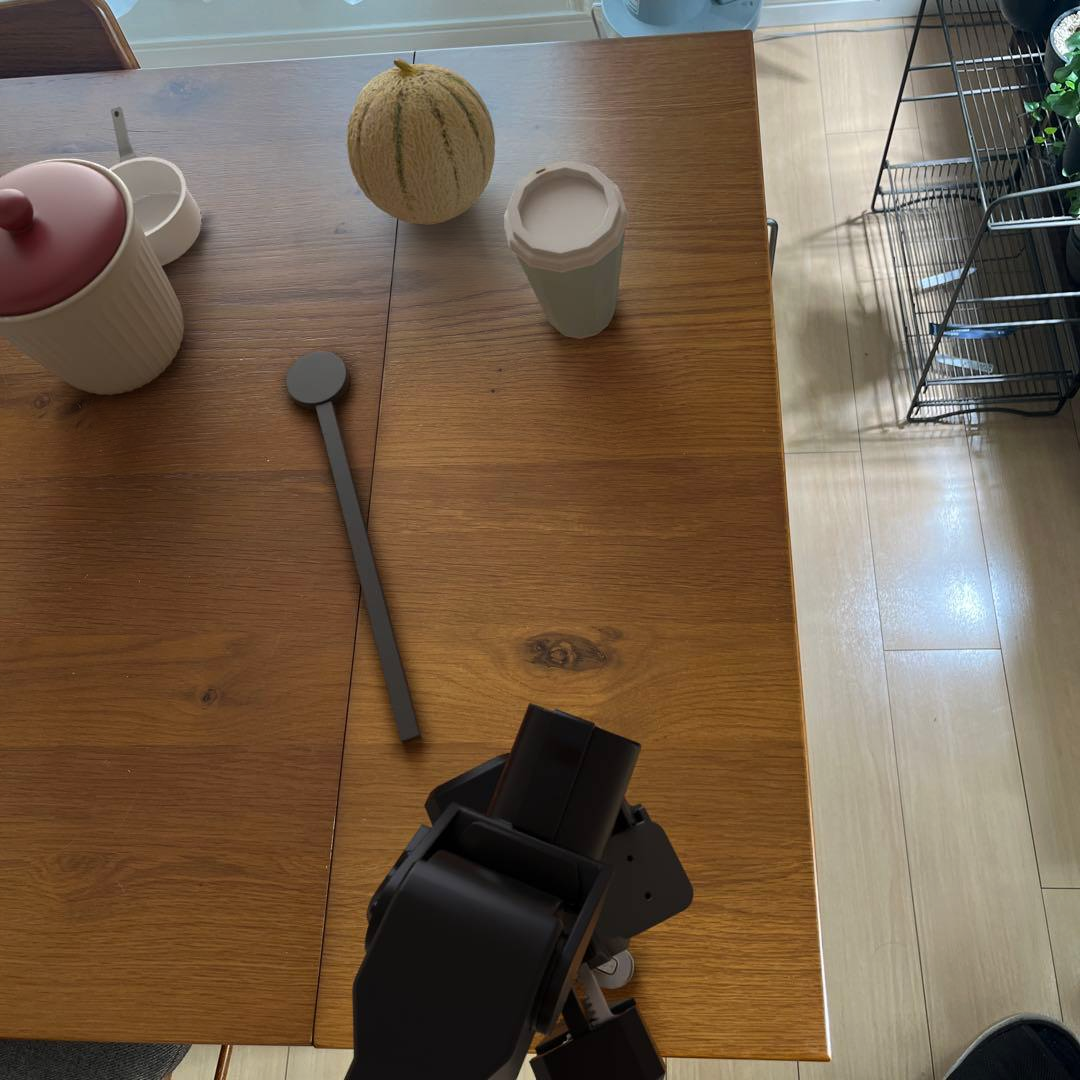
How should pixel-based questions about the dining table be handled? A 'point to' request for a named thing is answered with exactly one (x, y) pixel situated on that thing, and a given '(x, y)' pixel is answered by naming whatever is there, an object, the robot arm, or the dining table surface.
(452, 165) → the cantaloupe
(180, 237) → the saucepan
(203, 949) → the dining table surface
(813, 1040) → the dining table surface
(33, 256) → the canister
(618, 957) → the lighter
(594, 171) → the disposable coffee cup
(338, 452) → the spoon
